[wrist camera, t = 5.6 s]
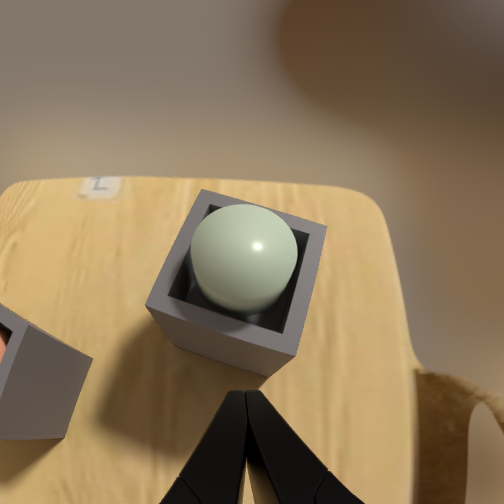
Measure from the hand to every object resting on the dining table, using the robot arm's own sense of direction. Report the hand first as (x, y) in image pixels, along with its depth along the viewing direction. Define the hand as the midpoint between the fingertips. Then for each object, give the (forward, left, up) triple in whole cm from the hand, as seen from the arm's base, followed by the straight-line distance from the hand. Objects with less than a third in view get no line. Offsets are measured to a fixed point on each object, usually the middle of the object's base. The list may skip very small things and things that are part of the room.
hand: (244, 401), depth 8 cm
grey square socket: (+6, +2, -13) cm, 15 cm away
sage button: (+6, +2, -5) cm, 8 cm away
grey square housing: (-4, +14, -13) cm, 20 cm away
